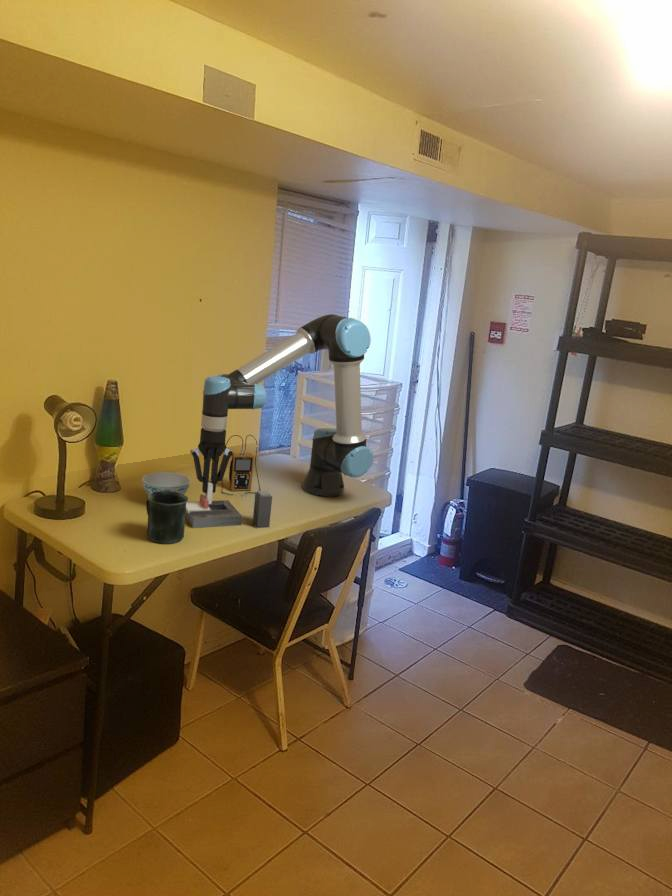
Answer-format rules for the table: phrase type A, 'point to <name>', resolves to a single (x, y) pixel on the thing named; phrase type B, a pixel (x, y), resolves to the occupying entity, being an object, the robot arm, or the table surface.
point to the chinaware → (165, 482)
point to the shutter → (198, 505)
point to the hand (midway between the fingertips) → (208, 502)
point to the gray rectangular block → (262, 509)
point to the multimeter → (241, 470)
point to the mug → (166, 516)
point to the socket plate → (215, 515)
